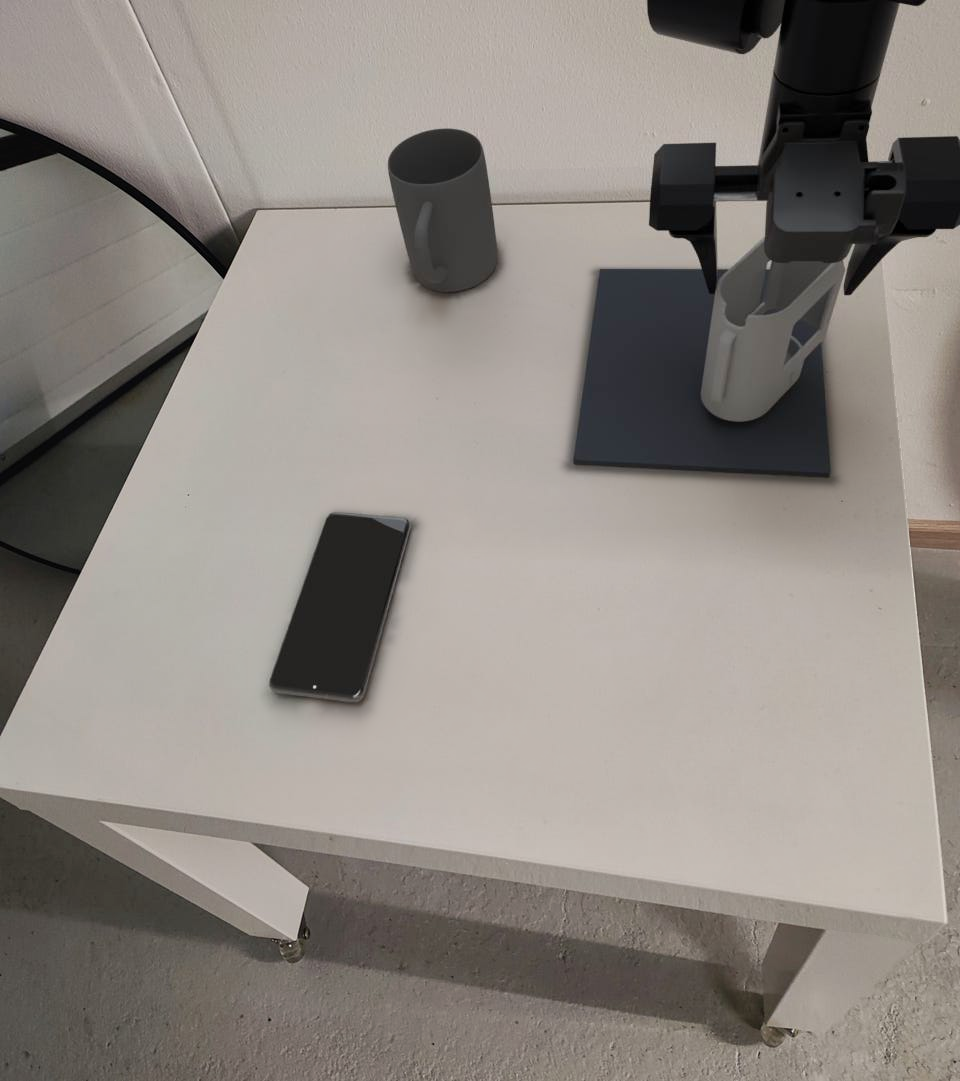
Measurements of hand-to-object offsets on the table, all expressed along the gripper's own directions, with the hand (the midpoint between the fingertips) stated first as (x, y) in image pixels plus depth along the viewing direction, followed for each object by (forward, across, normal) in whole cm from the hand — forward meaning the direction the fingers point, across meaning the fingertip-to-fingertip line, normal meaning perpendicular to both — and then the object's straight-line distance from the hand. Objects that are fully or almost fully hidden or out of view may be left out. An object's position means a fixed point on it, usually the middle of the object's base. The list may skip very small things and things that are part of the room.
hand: (778, 291), depth 58 cm
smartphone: (+12, -30, -22) cm, 40 cm away
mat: (+12, -4, +5) cm, 14 cm away
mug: (+12, -29, +16) cm, 35 cm away
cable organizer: (+12, 0, +2) cm, 12 cm away
